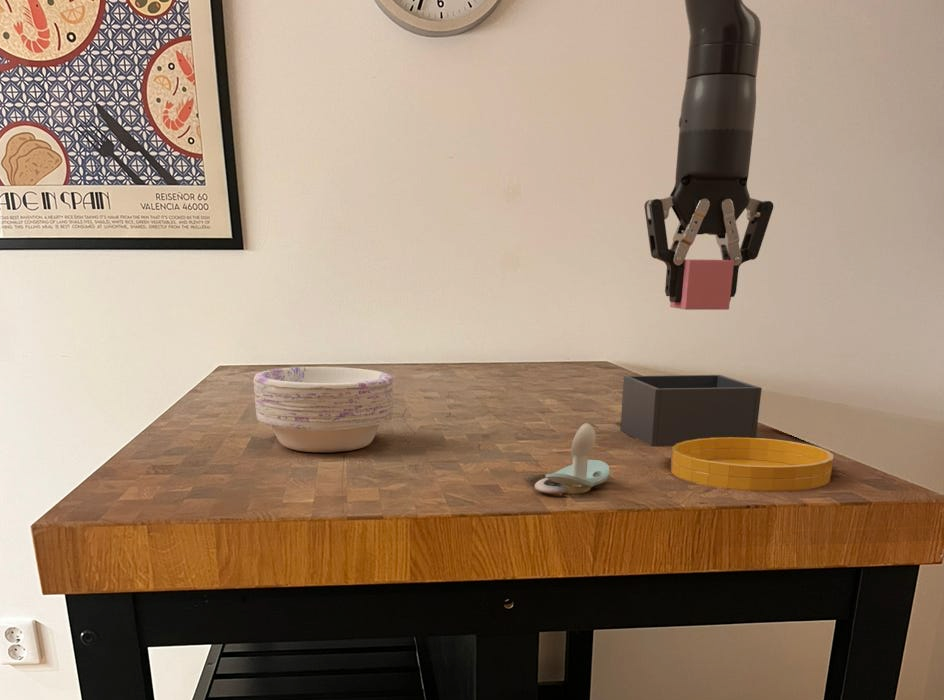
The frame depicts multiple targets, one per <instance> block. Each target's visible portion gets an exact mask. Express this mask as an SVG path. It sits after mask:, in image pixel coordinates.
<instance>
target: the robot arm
mask: <svg viewBox="0 0 944 700" xmlns="http://www.w3.org/2000/svg"><path fill="white" fill-rule="evenodd" d="M684 6H685V11H686V12H685V13H686V19H687V25H688V29H689V42H688V53H687V64H686V66H687V67H686V77H685V84H684V85H685V86H684V91H683V96H682V100H681V108H680V116H679V119H678V129H679V130H678V141H677V142H678V143H677V154H676V155H677V156H676V168H675V182H674V187H673V189H672V190H671V193H670V195H669V196H666V197H662V198H655V199H654V198H653V199H648V200H646V201H645V203H644V214H645V219H646V228H647V235H648V243H649V250H650V256H651V257H652V258H653V259H656V260H658V261H661V262H663V263H664V264H665V266H666V274H665V286H664V287H665V288H664V293H665V296H666V297H668V300H669V302H681V299H682V289H683V278H684V267H685V266H682V263H683V262H684V260H686V257H687V254H688V253H689V250H690V248H691V246H692V245H693V243H694V242H695V240H696V237H697V236H698V235H700V236H701V235H705V234H706V235H709V236H715V240H716V243H717V245H718V247H719V250H720V254H721V255H720V256H721V260H734V267H733V276H732V286H731V295H730V301H731V299H732V298H735V295H736V293H737V287H738V278H739V270H740V267H741V265H742V264H743V263H745V262H748V261H753V260H755V259H758V256H759V253H760V251H761V247H762V244H763V241H764V239H765V235H766V231H767V229H768V226H769V222H770V219H771V216H772V213H773V210H774V203H773V202H772V201H771V200H759V199H757V198H753V197H751V196H750V193H749V190H748V185H747V184H748V179H749V174H750V164H751V155H752V146H753V136H754V128H755V118H756V109H757V108H756V107H757V77H758V66H759V57H760V47H761V35H762V25H761V20H760V17H759V16H758V15H757V14H756V13H755V12H754V11H753V10H752V9H750V8H749V7H748V6H747V5H745V4H744V1H743V0H684ZM670 209H672V211H673V213H674V214H675V216H676V218H677V220H678V221H679V222H678V225H677V227H676V230H675V232H674V234H673V237H672V243H671V245H670V248H669V244H668V243H669V242H668V234H667V228H666V227H667V226H666V220H667V219H668V217H669V214H670ZM745 210H746V219H747V220H748V223H747V225H746V229H745V232H744V235H743V239H742V242H741V245H740V235H739V230H738V225H737V221H738V219H739V218H740V216H741V215H742V214H743V212H744V211H745Z"/></svg>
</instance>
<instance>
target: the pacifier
mask: <svg viewBox="0 0 944 700" xmlns="http://www.w3.org/2000/svg"><path fill="white" fill-rule="evenodd" d="M595 443H596V431H595V429H594V427H593V426H592V425H591V424H590V423H587V422H585V423H583V424H582V425H580V426H579V428H578V429H577V431H576V433H575V435H574V438H573V440H572V443H571V444H572V445H571V448H570V456H571V458H572V463H571V464H569V465H567V466H565V467H563V468H561V469H559V470H556V471H555V472H552V473H546V474H544V475H545V477H544V478H541V479H539V480H538V481H536V483H534V488H535V490H536V491H538V492H540V493H544V494H562V495H564V494H570V495H571V494H572V495H573V494H575V495H576V494H583V493H586V492H589V491H591V489H592V488H593V487H594V486H598V485H600V484H603V483H604V482H606V481H607V480H608V478H609V476H610V472H611V471H610V466H609V465H608V463H607V462H605V461H603V460H600V459H589V454H590V453H591V452H592V450H593V449H594V446H595ZM588 459H589V460H588ZM554 484H559V485H556V486H554Z"/></svg>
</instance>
